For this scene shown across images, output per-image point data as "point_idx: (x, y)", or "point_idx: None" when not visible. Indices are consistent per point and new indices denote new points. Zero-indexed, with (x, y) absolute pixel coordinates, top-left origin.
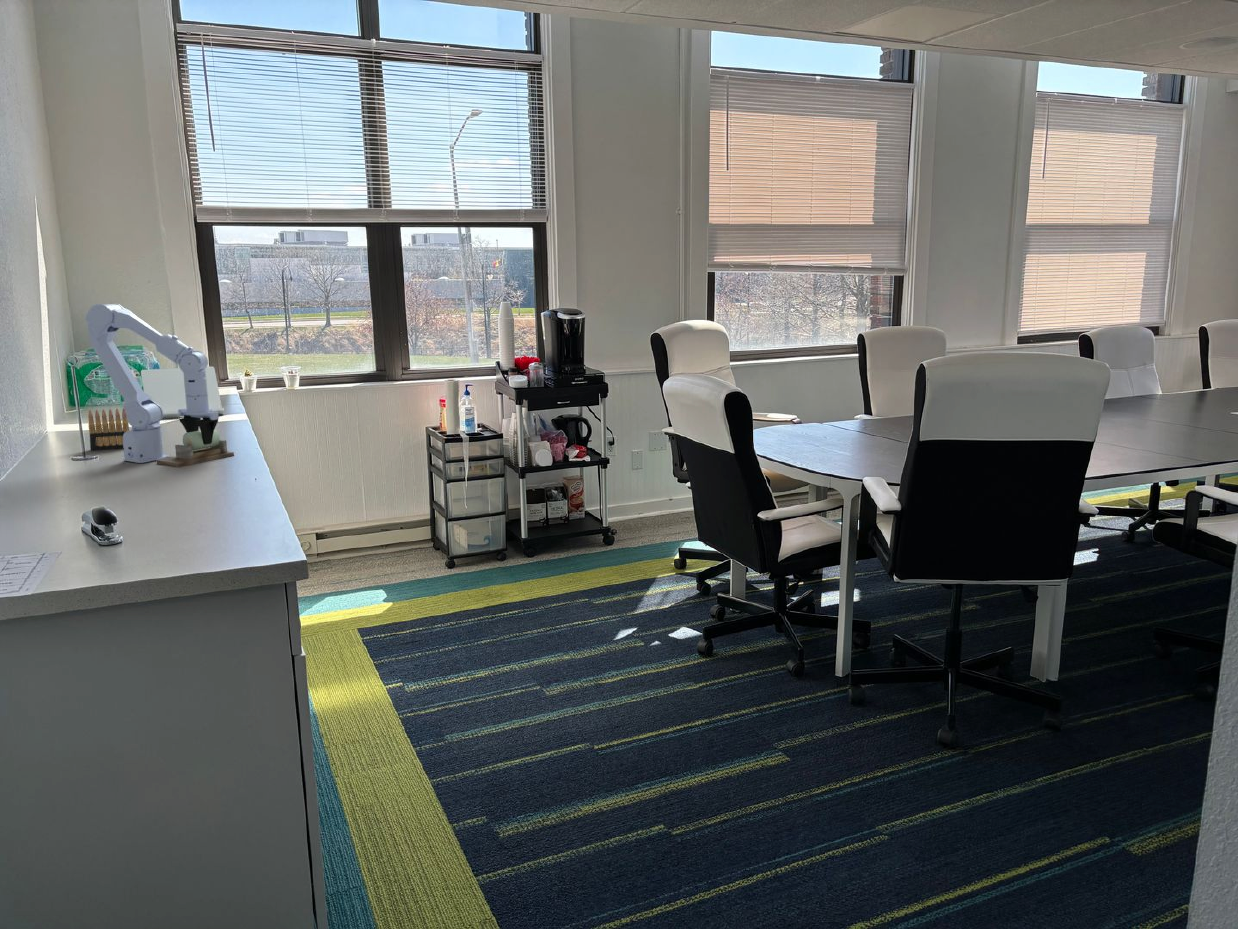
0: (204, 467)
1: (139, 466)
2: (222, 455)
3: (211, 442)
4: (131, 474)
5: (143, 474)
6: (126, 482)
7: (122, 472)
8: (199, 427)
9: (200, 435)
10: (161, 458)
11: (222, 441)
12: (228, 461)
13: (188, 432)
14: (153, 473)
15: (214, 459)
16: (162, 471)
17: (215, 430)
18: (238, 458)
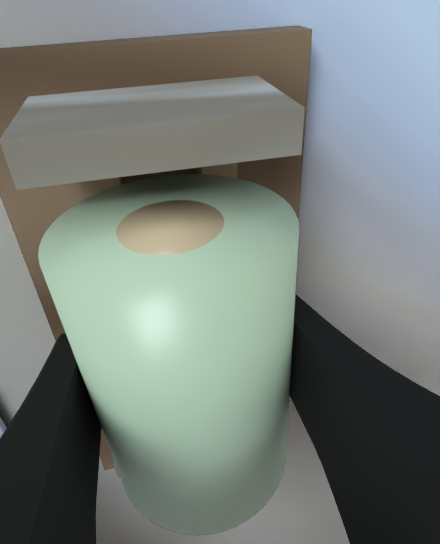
0: (403, 348)
1: (109, 499)
2: (299, 164)
3: (301, 299)
4: (241, 525)
5: (279, 505)
6: (333, 538)
7: (178, 538)
8: (348, 534)
9: (281, 431)
10: (3, 426)
11: (283, 153)
12: (421, 199)
13: (209, 527)
14: (296, 486)
15: None
16: (296, 464)
17: (271, 283)
18: (420, 85)
